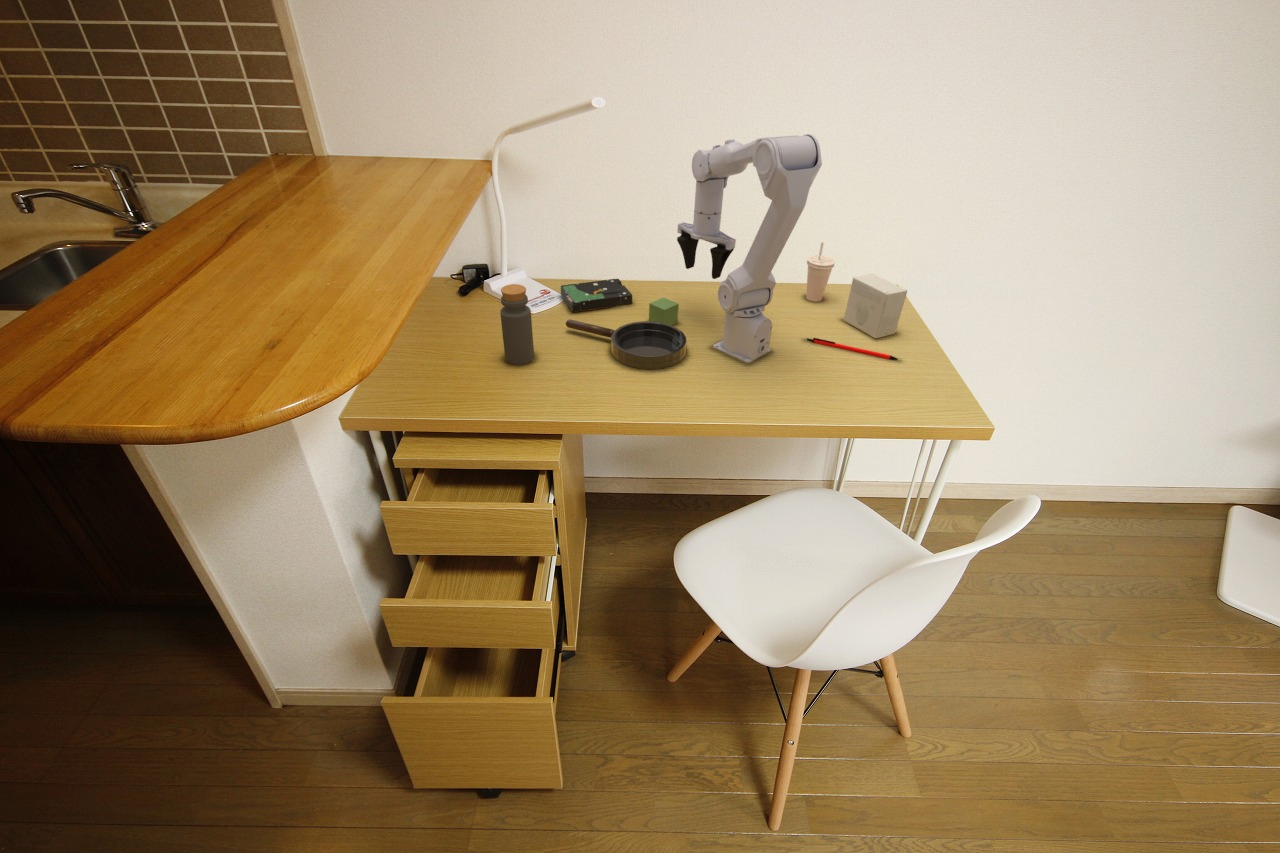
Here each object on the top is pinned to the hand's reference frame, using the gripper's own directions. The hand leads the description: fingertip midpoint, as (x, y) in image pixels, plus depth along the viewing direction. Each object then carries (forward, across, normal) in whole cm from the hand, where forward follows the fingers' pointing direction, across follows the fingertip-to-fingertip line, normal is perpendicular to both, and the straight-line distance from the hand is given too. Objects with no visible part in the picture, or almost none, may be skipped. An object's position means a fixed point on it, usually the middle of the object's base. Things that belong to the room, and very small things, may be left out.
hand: (702, 272), depth 145 cm
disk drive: (+11, -22, -12) cm, 27 cm away
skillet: (+10, +4, -21) cm, 24 cm away
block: (+10, -3, -9) cm, 14 cm away
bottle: (+11, -12, -42) cm, 45 cm away
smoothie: (+11, +13, +28) cm, 33 cm away
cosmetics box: (+11, +30, +24) cm, 40 cm away
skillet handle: (+9, -9, -26) cm, 29 cm away
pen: (+11, +33, +11) cm, 36 cm away
